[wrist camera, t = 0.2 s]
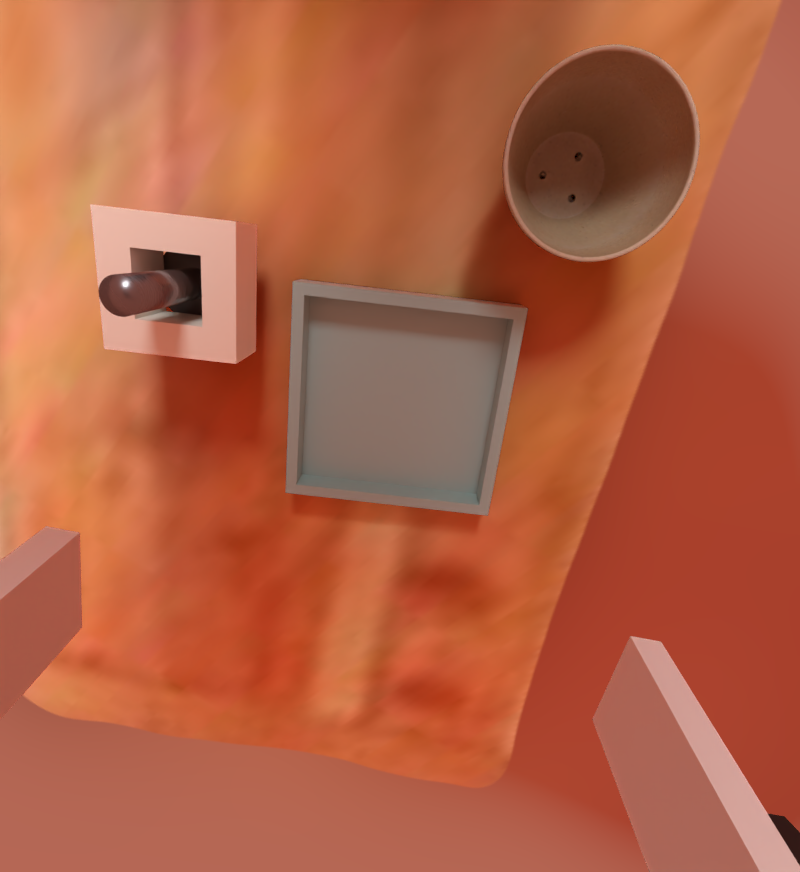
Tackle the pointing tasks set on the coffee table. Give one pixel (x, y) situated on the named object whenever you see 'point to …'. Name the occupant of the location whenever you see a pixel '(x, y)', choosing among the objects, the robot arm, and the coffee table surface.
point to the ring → (220, 282)
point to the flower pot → (601, 153)
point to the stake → (156, 288)
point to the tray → (399, 395)
